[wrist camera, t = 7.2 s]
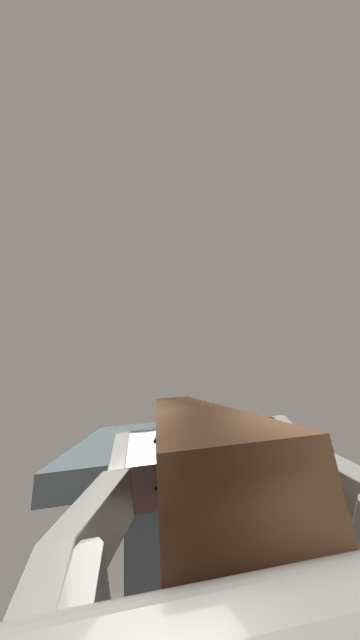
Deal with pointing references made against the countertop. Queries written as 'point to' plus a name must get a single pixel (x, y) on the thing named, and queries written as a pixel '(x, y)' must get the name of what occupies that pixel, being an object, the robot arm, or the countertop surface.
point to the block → (243, 493)
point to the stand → (76, 476)
